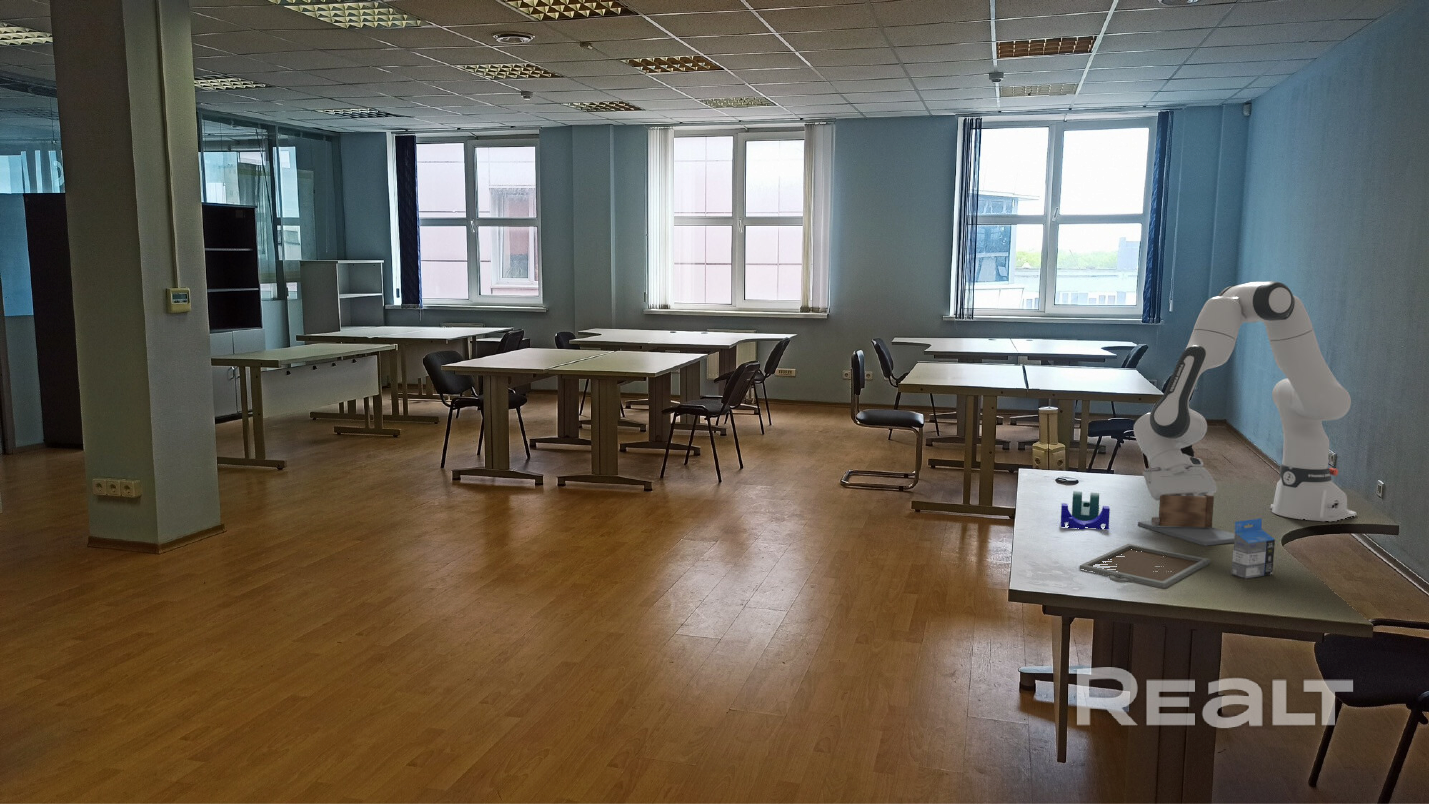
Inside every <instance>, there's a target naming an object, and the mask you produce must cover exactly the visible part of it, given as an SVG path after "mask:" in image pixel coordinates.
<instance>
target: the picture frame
mask: <svg viewBox="0 0 1429 804" xmlns="http://www.w3.org/2000/svg"><path fill="white" fill-rule="evenodd" d="M1131 549H1132V550H1131ZM1136 551H1137V552H1136ZM1141 551H1142V552H1141ZM1121 554H1122V555H1121ZM1116 556H1125V557H1116ZM1163 556H1164V557H1163ZM1108 559H1109V560H1108ZM1110 559H1112V560H1110ZM1102 561H1112V562H1106V563H1105V562H1104V563H1103V562H1102ZM1095 564H1108V565H1100V566H1117V567H1110V568H1104V569H1102V568H1097V567H1093V565H1095ZM1116 564H1117V565H1116ZM1209 564H1210V558H1206V557H1201V556H1196V555H1190V554H1185V553H1179V552H1174V551H1168V550H1164V549H1161V548H1160V549H1159V548H1154V547H1149V546H1143V545H1138V544H1133V543H1127V544H1125V545H1122V546H1119V547H1118V548H1115V549H1114V550H1111V551H1109V552H1107V553H1104V554H1103V555H1099V556H1097V557H1096V558H1093V559H1090V560H1089V561H1086V562H1084V563H1082V564H1080V565H1079V569H1084V570H1087V571H1093V572H1095V573H1094V574H1096V573H1099V574H1098V575H1101V574H1104V575H1103V576H1105V575H1106V577H1107V576H1109V577H1108V578H1109V579H1110V580H1111V581H1113V582H1119V583H1128V582H1131V583H1132V582H1134V583H1138V584H1142V585H1147V586H1153V587H1156V588H1160V589H1166V588H1168V587H1170V586H1172V585H1174V584H1176V583H1177V582H1179V581H1181V580H1182V579H1184V578H1186V577H1188V576H1189V575H1191V574H1193V573H1194V572H1196V571H1198V570H1200V569H1202V568H1203V567H1205V566H1207V565H1209ZM1155 566H1160V567H1155ZM1161 566H1162V567H1161ZM1163 566H1164V567H1163ZM1107 569H1116V570H1107ZM1087 571H1086V572H1087ZM1116 571H1118V572H1116ZM1153 571H1154V572H1153ZM1155 571H1158V572H1155ZM1166 571H1167V572H1166ZM1168 571H1169V572H1168ZM1170 571H1172V572H1170ZM1185 576H1186V577H1185ZM1180 579H1181V580H1180ZM1176 581H1177V582H1176Z"/></svg>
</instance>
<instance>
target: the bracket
mask: <svg viewBox="0 0 1429 804" xmlns="http://www.w3.org/2000/svg"><path fill="white" fill-rule="evenodd" d="M1089 496H1090V498H1089V501H1087V500H1084V501H1083V491H1075V490H1073V493H1072V502H1071V503H1072V504H1071V505H1072V506H1071V515H1072V516H1073V517H1075V518H1076V519H1078V520H1081V521H1090V520H1093V519H1095V518H1096V517H1098V516H1099V514H1100V492H1090V494H1089Z"/></svg>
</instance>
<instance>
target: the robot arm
mask: <svg viewBox="0 0 1429 804" xmlns="http://www.w3.org/2000/svg"><path fill="white" fill-rule="evenodd" d="M1258 322H1259V323H1260V322H1262V323H1263V324H1264V326H1265V329H1266V334H1267V338H1268V342H1269V346H1270V348H1271V352H1272V354H1273V358H1274V361H1275V364H1276V366H1277V367H1278V368H1279V370H1280V371H1281V372H1282V373H1283V374H1284V375H1285V377H1286V378H1283V379H1281V380H1280V381H1278V382H1276V384H1275V385H1274V387H1273V388H1272V393H1271V398H1272V401H1273V404H1274V405H1275V406H1276V408H1277V410H1278V412H1279V418H1280V421H1281V422H1280V423H1281V427H1282V434H1283V448H1282V451H1283V452H1282V463H1280V465H1279V466H1280V467H1279V477H1280V478H1279V480H1278V481H1277V483H1276V487H1275V493H1274V498H1273V503H1271V504H1270V509H1271V512H1272V513H1273V514H1275V515H1278V516H1281V517H1285V518H1290V519H1296V520H1303V519H1305V520H1304V521H1306V520H1307V521H1315V522H1316V521H1317V522H1325V521H1335V522H1338V521H1337V520H1339V521H1341V520H1340V519H1343V520H1346V519H1345V518H1347V517H1350V516H1354V517H1356V516H1355V515H1357V512H1356V511H1354V510H1351V509H1348V496H1347V494H1346V493H1345V492H1344V491H1343V490H1342V489H1340V488H1339V487H1338V486H1337V485H1336V484H1335V483H1334V482H1333V481H1332V476H1335V477H1336V476H1338V475H1339V469H1338V468H1333V467H1329V455H1330V438H1329V437H1328V434H1326V432H1325V429H1324V426H1323V423H1322V422H1325V421H1326V422H1327V421H1334V420H1336V421H1337V420H1340V419H1342V418H1343V417H1344V416H1345V415H1346V414H1347V413H1348V412H1349V411H1350V408H1351V405H1352V399H1351V395H1350V393H1349V392H1348V390H1347V389H1346V388H1344V387H1343V386H1342V385H1341V384H1340V382H1339V381H1338V380H1337V378H1336V377H1335V375H1334V374H1333V372H1332V371H1331V368H1329V365H1328V364H1327V362H1326V360H1325V358H1324V357H1323V354H1322V352H1321V349H1320V346H1319V341H1318V340H1317V337H1316V333H1315V330H1314V327H1313V324H1312V321H1311V318H1310V315H1309V314H1308V311H1307V308H1305V305H1304V303H1303V302H1302V300H1301V299H1300V298H1299V297H1298V296H1296V295H1294V294H1293V292H1292V291H1291V289H1290V288H1289V287H1288V286H1287V285H1286V284H1284V283H1283V282H1279V281H1273V280H1268V281H1250V282H1249V281H1248V282H1247V283H1242V284H1233V285H1231V286H1228V287H1225V288H1223V289H1222V290H1221V291H1220V292H1219V293H1218V294H1217V296H1213V297H1210V298H1209V299H1207V300H1206V302H1205V303H1204V305H1203V307H1202V308H1201V311H1200V312H1199V314H1198V317H1197V318H1196V322H1195V323H1194V327H1193V330H1192V333H1191V334H1190V338H1189V340H1188V343H1187V345H1186V348H1185V349H1184V351H1182V353H1181V355H1180V357H1179V359H1178V361H1177V363H1176V365H1175V368H1174V370H1173V373H1172V375H1171V377H1170V379H1169V382H1168V384H1167V386H1166V388H1165V391H1164V393H1163V395H1162V396H1161V398H1160V399H1159V400H1158V401H1157V403H1156V404H1155V405H1154V406H1153V408H1152V410H1151V411H1150V412H1148V413H1146V414H1145V413H1144V414H1143V415H1141V416H1140V417H1139V418H1138V419H1137V420H1136V421H1135V423H1134V424H1133V435H1134V437H1135V439H1136V442H1137V445H1138V446H1139V448H1140V449H1141V452H1142V453H1143V454H1144V455H1145V456H1146V458H1147V460H1148V464H1149V466H1150V468H1148V467H1147V468H1144V470H1143V472H1142V476H1143V478H1144V481H1145V484H1146V487H1147V490H1148V492H1149V494H1150V496H1151V498H1152V499H1154V500H1155V501H1160V496H1164V495H1171V496H1205V494H1211V495H1214V494H1215V493H1216V492H1217V490H1218V486H1217V482H1216V481H1215V480H1214V478H1213V476H1212V475H1211V473H1210V472H1209V471H1208V469H1207V468H1205V467H1204V462H1203V460H1202V459H1201V458H1198V457H1195V456H1194V457H1191V456H1188V455H1186V454H1182V452H1181V450H1180V449H1181V448H1185V447H1188V446H1190V445H1192V446H1193V445H1195V444H1198V443H1199V442H1201V441H1202V440H1203V439H1204V438H1205V437H1206V434H1207V433H1208V427H1209V426H1208V423H1207V419H1206V418H1205V417H1204V415H1202V414H1201V413H1199V412H1198V411H1195V410H1194V409H1192V408H1190V406H1189V405H1190V403H1189V402H1190V398H1191V397H1192V395H1193V392H1194V390H1195V387H1196V385H1197V382H1198V380H1199V378H1200V376H1201V375H1202V374H1203V373H1204V372H1205V371H1207V370H1209V369H1215V368H1217V367H1220V366H1223V365H1224V364H1226V363H1227V361H1228V360H1229V359H1230V357H1231V355H1232V353H1233V351H1234V349H1235V345H1236V342H1237V339H1238V335H1239V331H1240V328H1241V327H1242V325H1243V324H1244V323H1247V324H1248V323H1252V324H1253V323H1258ZM1357 516H1358V515H1357ZM1347 519H1348V518H1347Z"/></svg>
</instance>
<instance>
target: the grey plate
mask: <svg viewBox="0 0 1429 804" xmlns="http://www.w3.org/2000/svg"><path fill="white" fill-rule="evenodd" d="M1151 521H1152V519H1151V520H1143V521H1141V520H1140V521H1137V526H1139V527H1141V526H1142V527H1141V528H1144V527H1145V529H1148V530H1152V531H1155V532H1159V533H1161V534H1165V535H1167V536H1171V537H1174V538H1177V539H1181V540H1184V541H1187V542H1190V543H1194V544H1198V545H1200V546H1203V547H1207V546H1215V545H1224V544H1231V543H1234V537H1235V532H1231V531H1230V532H1229V531H1226V530H1223V529H1219V528H1216V527H1212V528H1206V527H1179V526H1152V525H1151Z"/></svg>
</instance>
